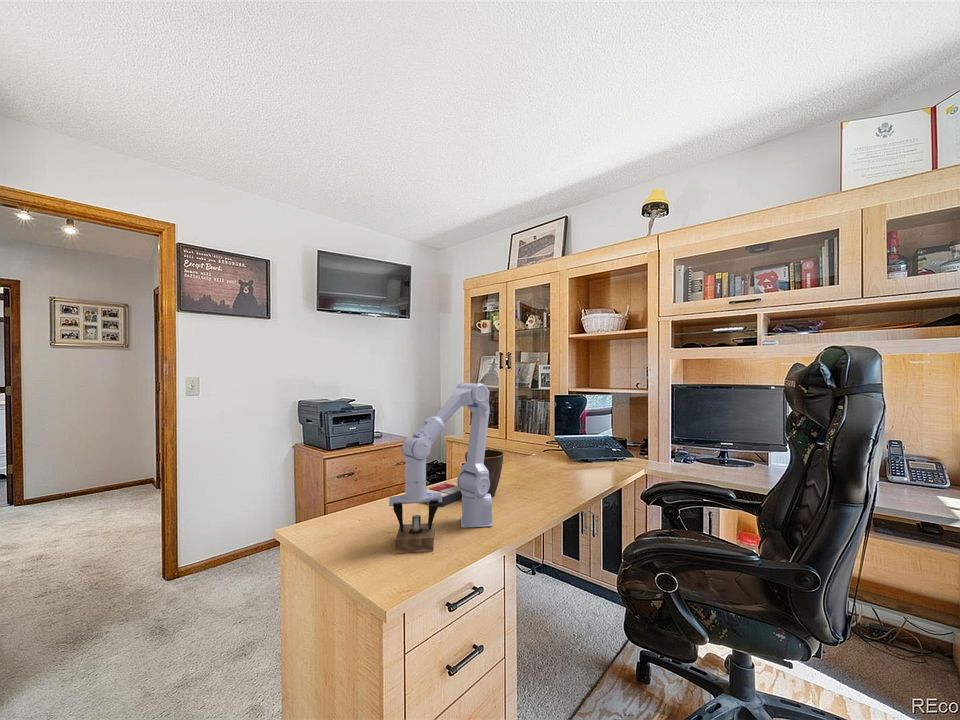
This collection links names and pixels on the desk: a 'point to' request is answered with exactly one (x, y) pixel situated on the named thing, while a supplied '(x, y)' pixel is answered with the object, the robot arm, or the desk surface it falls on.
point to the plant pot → (492, 468)
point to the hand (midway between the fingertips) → (415, 529)
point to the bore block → (415, 539)
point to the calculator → (446, 493)
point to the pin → (416, 524)
